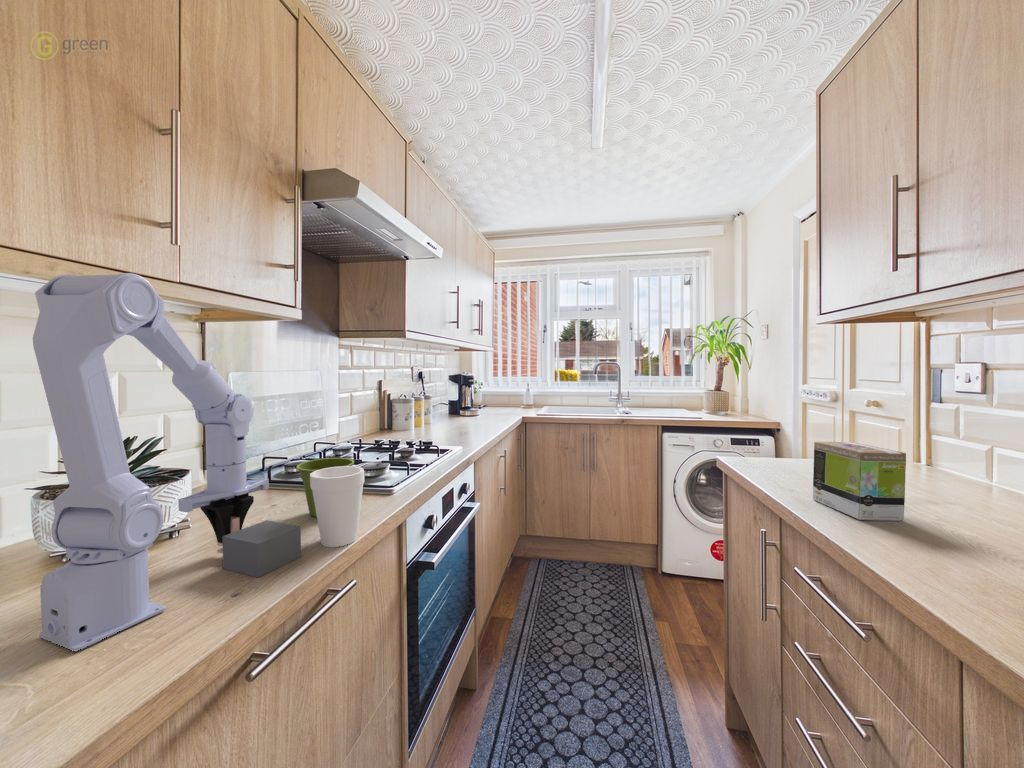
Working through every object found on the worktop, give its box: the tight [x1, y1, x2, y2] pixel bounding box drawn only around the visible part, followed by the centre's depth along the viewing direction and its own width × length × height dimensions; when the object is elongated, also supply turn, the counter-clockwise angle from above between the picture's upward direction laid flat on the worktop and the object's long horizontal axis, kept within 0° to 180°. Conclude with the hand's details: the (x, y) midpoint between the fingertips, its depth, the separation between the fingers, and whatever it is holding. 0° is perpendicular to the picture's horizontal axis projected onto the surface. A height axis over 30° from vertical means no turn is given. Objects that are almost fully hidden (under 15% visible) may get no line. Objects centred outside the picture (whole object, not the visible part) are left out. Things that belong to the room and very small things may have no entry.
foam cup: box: [310, 465, 365, 548], centre depth 81 cm, size 10×9×13 cm
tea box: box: [812, 441, 907, 522], centre depth 99 cm, size 15×10×15 cm
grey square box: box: [222, 519, 302, 578], centre depth 72 cm, size 8×8×5 cm
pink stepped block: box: [216, 516, 240, 555], centre depth 74 cm, size 4×10×5 cm, turn 69°
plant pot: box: [296, 457, 355, 518], centre depth 97 cm, size 12×12×11 cm
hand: (228, 540), depth 75 cm, fingers closed on pink stepped block
